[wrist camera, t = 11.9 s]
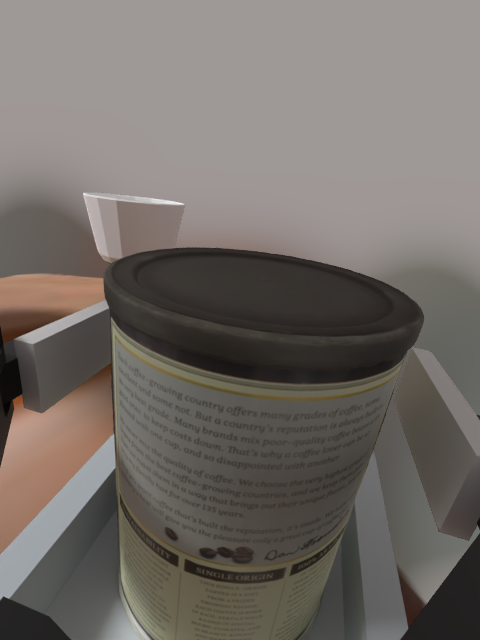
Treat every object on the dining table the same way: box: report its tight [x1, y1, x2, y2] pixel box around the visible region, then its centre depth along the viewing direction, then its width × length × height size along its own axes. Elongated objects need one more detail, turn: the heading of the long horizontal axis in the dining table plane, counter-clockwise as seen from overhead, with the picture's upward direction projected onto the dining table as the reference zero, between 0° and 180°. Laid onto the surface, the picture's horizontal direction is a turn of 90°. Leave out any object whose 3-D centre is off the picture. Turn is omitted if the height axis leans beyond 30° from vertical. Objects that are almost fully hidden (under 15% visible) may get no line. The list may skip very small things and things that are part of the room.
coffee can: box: [104, 248, 424, 640], centre depth 14 cm, size 10×10×14 cm
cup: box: [83, 193, 185, 264], centre depth 48 cm, size 14×14×16 cm
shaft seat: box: [0, 434, 408, 640], centre depth 20 cm, size 24×15×7 cm, turn 165°
